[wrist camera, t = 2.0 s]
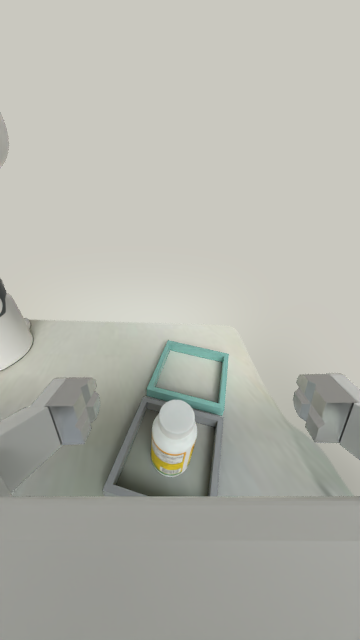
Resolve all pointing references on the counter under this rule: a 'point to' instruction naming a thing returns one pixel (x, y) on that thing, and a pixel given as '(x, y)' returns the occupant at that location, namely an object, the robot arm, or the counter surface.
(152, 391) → the bin
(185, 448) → the supplement bottle
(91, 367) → the counter surface
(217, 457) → the bin
